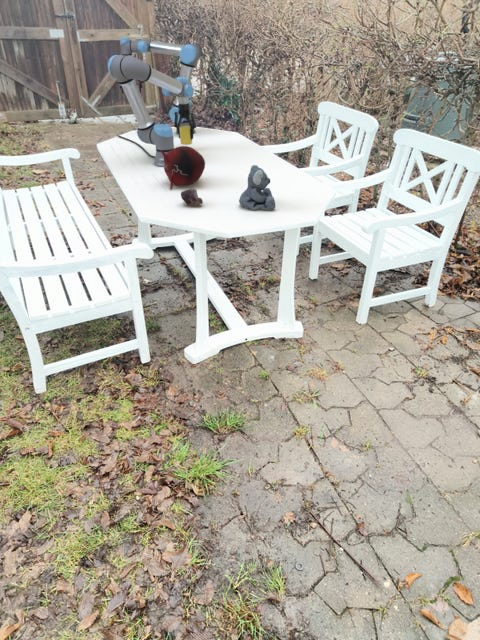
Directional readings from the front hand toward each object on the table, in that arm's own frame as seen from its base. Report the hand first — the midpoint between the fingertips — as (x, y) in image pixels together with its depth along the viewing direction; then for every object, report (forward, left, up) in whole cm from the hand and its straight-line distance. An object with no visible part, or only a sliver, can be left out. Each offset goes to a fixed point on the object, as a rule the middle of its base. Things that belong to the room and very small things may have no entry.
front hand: (186, 138), depth 316 cm
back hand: (-70, +9, +22) cm, 74 cm away
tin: (0, 0, -3) cm, 3 cm away
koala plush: (+109, -51, -9) cm, 121 cm away
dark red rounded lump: (+54, -50, -9) cm, 74 cm away
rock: (+83, -72, -9) cm, 110 cm away
